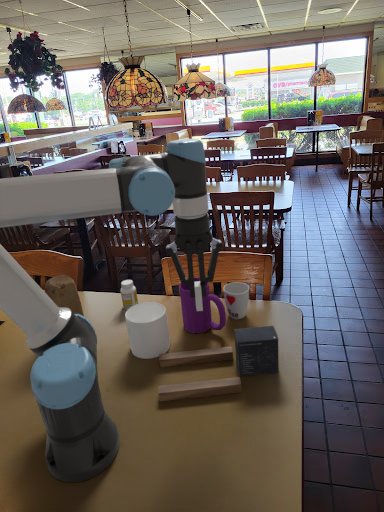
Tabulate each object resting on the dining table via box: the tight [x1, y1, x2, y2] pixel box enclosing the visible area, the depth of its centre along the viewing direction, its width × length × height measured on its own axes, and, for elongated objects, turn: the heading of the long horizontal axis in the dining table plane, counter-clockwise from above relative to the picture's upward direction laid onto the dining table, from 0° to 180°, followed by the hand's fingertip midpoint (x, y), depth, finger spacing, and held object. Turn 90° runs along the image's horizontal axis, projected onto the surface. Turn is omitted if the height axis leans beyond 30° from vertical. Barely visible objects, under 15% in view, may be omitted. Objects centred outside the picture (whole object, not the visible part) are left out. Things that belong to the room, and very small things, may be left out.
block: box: [44, 274, 85, 317], centre depth 118 cm, size 11×8×20 cm
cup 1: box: [124, 301, 171, 360], centre depth 110 cm, size 12×12×12 cm
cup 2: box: [223, 281, 250, 320], centre depth 122 cm, size 8×8×10 cm
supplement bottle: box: [120, 279, 139, 311], centre depth 134 cm, size 5×5×10 cm
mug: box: [178, 277, 227, 334], centre depth 116 cm, size 9×16×15 cm, turn 51°
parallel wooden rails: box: [158, 345, 242, 402], centre depth 99 cm, size 15×20×2 cm
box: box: [233, 325, 280, 377], centre depth 99 cm, size 11×7×10 cm, turn 91°
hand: (199, 307), depth 91 cm, fingers closed
